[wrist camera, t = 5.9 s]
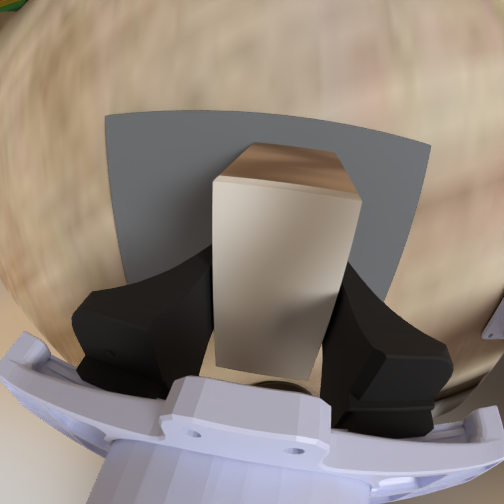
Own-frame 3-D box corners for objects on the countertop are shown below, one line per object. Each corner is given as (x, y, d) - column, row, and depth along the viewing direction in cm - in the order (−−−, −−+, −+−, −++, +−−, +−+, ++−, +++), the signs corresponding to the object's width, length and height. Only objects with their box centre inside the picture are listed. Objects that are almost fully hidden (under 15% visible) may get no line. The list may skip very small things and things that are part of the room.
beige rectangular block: (335, 152, 13) (362, 201, 7) (310, 284, 17) (307, 380, 11) (254, 142, 13) (212, 181, 7) (245, 275, 18) (215, 366, 12)
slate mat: (428, 144, 12) (431, 145, 12) (369, 328, 19) (369, 332, 18) (108, 115, 14) (105, 115, 14) (131, 289, 21) (129, 292, 20)
